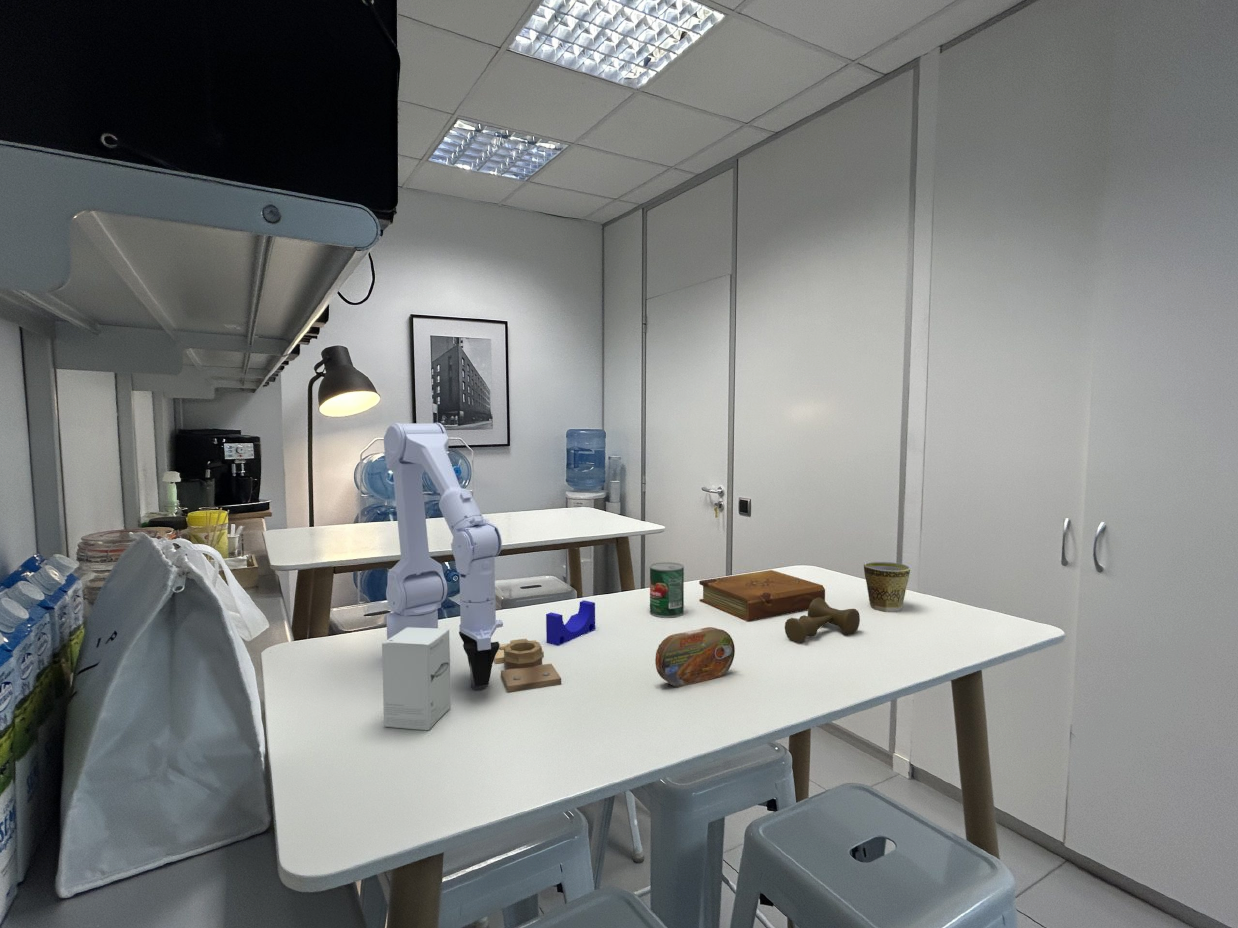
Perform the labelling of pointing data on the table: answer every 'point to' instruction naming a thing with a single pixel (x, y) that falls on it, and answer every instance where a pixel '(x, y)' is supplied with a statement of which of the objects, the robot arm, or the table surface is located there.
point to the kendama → (821, 621)
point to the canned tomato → (666, 589)
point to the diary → (760, 594)
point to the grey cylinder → (472, 684)
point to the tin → (694, 656)
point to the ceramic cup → (886, 585)
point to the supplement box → (416, 678)
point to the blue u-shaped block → (570, 624)
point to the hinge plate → (529, 675)
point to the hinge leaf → (519, 652)
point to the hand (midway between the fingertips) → (479, 678)
